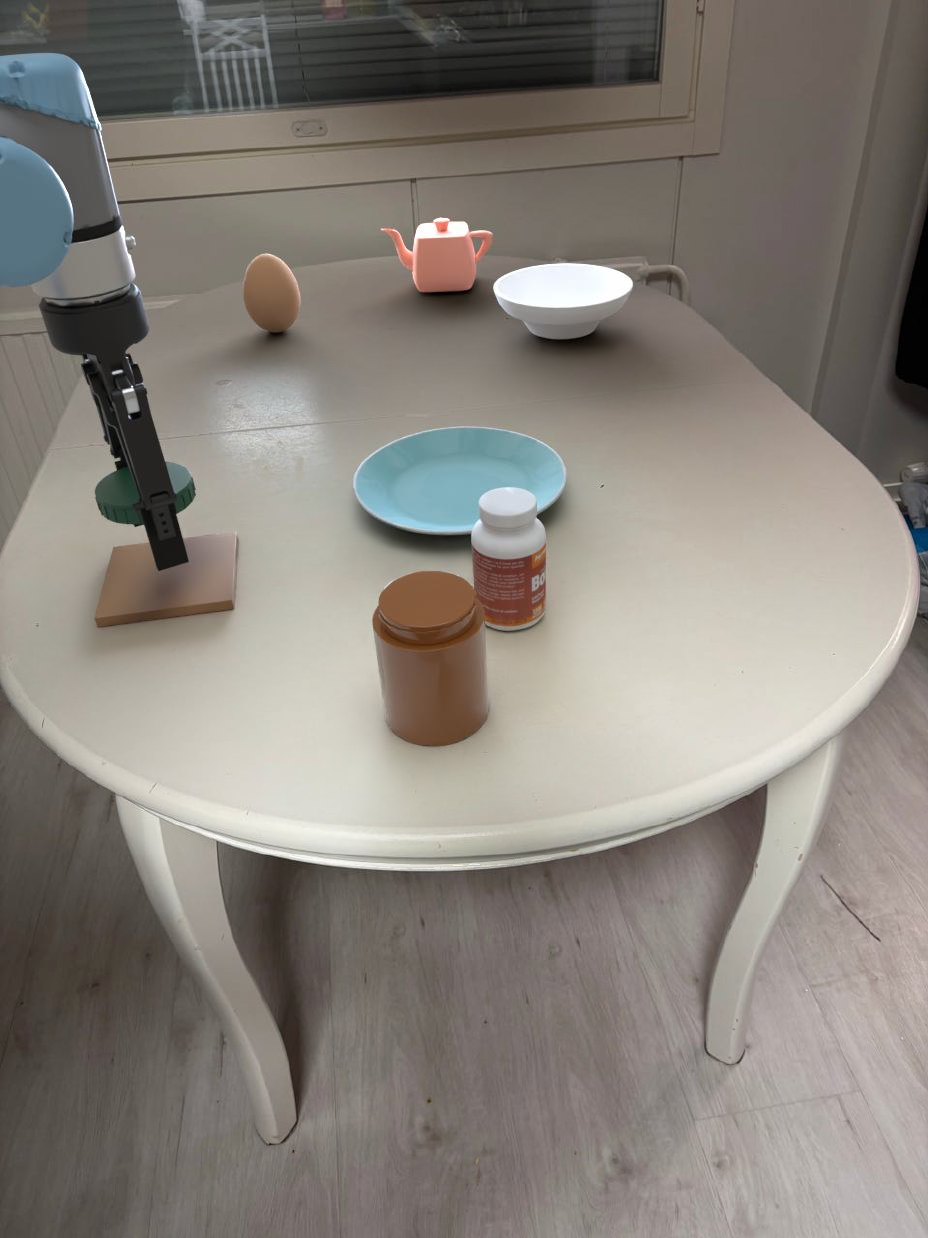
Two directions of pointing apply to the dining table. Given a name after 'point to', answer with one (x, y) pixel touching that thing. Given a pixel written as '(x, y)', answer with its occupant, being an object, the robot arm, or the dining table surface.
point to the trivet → (169, 581)
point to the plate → (453, 477)
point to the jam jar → (432, 657)
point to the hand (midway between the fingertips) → (160, 541)
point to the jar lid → (121, 493)
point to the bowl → (563, 297)
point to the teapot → (442, 255)
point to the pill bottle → (509, 559)
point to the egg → (271, 293)
